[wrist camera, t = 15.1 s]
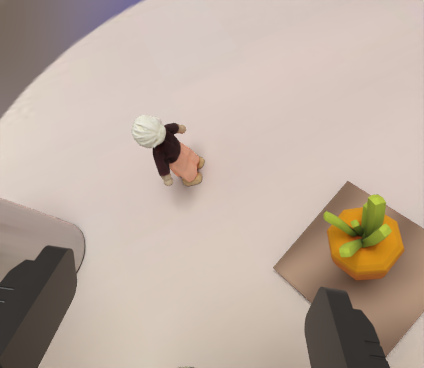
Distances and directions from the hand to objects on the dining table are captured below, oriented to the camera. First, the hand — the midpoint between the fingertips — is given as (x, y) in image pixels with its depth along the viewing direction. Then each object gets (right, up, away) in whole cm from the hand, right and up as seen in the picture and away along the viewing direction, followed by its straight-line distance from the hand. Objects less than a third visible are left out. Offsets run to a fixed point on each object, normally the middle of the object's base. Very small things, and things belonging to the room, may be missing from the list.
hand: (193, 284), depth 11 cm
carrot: (+15, -4, +21) cm, 26 cm away
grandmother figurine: (-2, +4, +33) cm, 33 cm away
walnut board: (+15, -5, +21) cm, 27 cm away
